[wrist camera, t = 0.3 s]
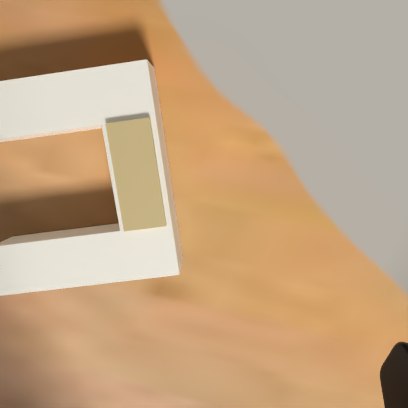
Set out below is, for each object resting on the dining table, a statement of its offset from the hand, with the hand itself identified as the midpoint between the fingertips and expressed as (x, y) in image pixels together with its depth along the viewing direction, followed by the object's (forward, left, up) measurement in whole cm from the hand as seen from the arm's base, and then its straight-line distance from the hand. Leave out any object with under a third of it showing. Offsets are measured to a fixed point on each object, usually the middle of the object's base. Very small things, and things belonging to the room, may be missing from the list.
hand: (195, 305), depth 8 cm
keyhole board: (-10, +7, -15) cm, 20 cm away
